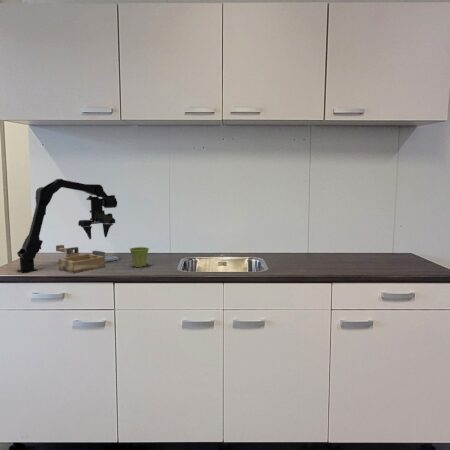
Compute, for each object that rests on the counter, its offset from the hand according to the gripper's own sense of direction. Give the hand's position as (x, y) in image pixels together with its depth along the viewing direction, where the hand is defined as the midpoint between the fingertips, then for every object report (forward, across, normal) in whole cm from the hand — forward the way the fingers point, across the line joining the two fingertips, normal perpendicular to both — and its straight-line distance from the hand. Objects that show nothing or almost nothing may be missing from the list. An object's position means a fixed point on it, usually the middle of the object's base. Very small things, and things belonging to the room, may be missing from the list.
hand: (98, 238), depth 193 cm
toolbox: (+12, -16, -8) cm, 21 cm away
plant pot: (+12, +4, -28) cm, 31 cm away
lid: (+12, 0, 0) cm, 12 cm away
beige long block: (+5, -16, +6) cm, 17 cm away
